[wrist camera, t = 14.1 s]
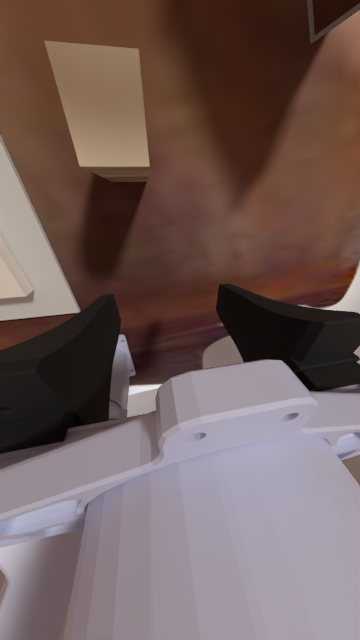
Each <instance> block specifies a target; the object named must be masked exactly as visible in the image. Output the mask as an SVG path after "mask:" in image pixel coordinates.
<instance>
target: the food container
mask: <svg viewBox="0 0 360 640" xmlns="http://www.w3.org/2000/svg"><path fill="white" fill-rule="evenodd" d="M307 6H308V19H309V32H310V45H311V44H312V43H313V42H315V41H316V40H318V39H319V38H320V37H322V36H323V35H325V34H326V33H328V32H329V31H330V30H332V29H333V28H335V27H336V26H337V25H339V24H340V23H342V22H343V21H344V20H346V19H347V18H349V17H350V16H351V15H353V14H354V13H356V12H357V11H359V10H360V0H307Z"/></svg>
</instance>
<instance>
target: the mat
mask: <svg viewBox="0 0 360 640" xmlns="http://www.w3.org/2000/svg"><path fill="white" fill-rule="evenodd" d="M0 236H1V237H2V239H3V241H4V242H5V244H6V246H7V247H8V249H9V251H10V252H11V254H12V255H13V257H14V259H15V260H16V262H17V264H18V265H19V267H20V269H21V270H22V272H23V274H24V275H25V277H26V279H27V280H28V282H29V284H30V285H31V287H32V288H33V291H32V292H31V293H30V294H28V295H27V296H24V297H13V298H2V299H0V321H2V320H12V319H21V318H31V317H41V316H50V315H60V314H70V313H79V312H80V309H79V306H78V304H77V302H76V300H75V298H74V295H73V293H72V291H71V289H70V287H69V284H68V282H67V280H66V278H65V276H64V273H63V271H62V269H61V267H60V265H59V262H58V260H57V258H56V256H55V254H54V251H53V249H52V247H51V245H50V243H49V240H48V238H47V236H46V234H45V232H44V229H43V227H42V225H41V223H40V221H39V218H38V216H37V214H36V212H35V210H34V207H33V205H32V203H31V201H30V199H29V196H28V194H27V192H26V190H25V188H24V185H23V183H22V181H21V179H20V177H19V174H18V172H17V170H16V168H15V166H14V163H13V161H12V159H11V157H10V155H9V152H8V150H7V148H6V146H5V144H4V141H3V139H2V137H1V135H0Z"/></svg>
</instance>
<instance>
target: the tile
mask: <svg viewBox="0 0 360 640" xmlns="http://www.w3.org/2000/svg"><path fill="white" fill-rule="evenodd" d="M32 291H33V288H32V287H31V285H30V284H29V282H28V280H27V279H26V277H25V275H24V274H23V272H22V270H21V269H20V267H19V265H18V264H17V262H16V260H15V259H14V257H13V255H12V254H11V252H10V251H9V249H8V247H7V246H6V244H5V242H4V241H3V239H2V237H1V236H0V299H2V298H13V297H24V296H27V295H28V294H30V293H31V292H32Z"/></svg>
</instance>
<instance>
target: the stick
mask: <svg viewBox="0 0 360 640" xmlns="http://www.w3.org/2000/svg"><path fill="white" fill-rule="evenodd" d="M45 45H46V48H47V52H48V55H49V59H50V62H51V66H52V69H53V73H54V77H55V80H56V84H57V87H58V91H59V94H60V98H61V101H62V105H63V108H64V112H65V116H66V119H67V123H68V126H69V130H70V133H71V137H72V140H73V144H74V147H75V151H76V154H77V158H78V162H79V165H80V167H82V168H84V169H86V170H88V171H90V172H92V173H94V174H97V175H99V176H101V177H103V178H105V179H107V180H109V181H111V182H147V179H148V173H149V167H150V166H149V155H148V145H147V134H146V123H145V113H144V102H143V92H142V81H141V71H140V60H139V50H138V49H132V48H121V47H110V46H99V45H87V44H76V43H65V42H54V41H45Z"/></svg>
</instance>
